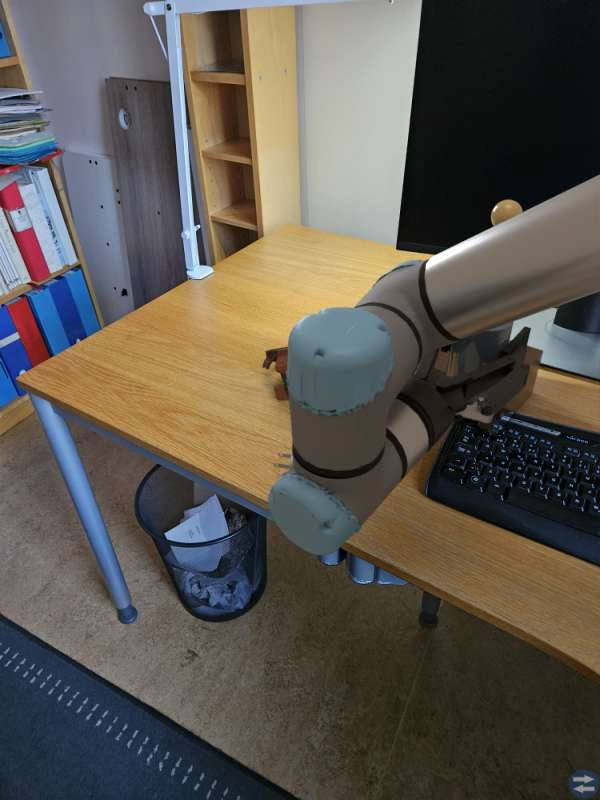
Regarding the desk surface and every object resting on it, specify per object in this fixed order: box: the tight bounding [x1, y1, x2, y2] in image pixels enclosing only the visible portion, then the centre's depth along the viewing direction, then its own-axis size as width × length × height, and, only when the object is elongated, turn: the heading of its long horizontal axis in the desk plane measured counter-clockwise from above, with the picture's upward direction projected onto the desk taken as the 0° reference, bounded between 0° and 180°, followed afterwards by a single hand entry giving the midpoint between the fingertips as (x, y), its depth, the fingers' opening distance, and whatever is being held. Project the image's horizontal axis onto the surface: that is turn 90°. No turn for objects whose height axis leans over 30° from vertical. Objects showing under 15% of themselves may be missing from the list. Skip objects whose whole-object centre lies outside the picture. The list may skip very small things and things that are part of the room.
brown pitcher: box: [261, 346, 289, 400], centre depth 93 cm, size 12×10×8 cm
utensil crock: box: [446, 199, 524, 405], centre depth 62 cm, size 6×6×22 cm
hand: (496, 328), depth 68 cm, fingers closed on utensil crock, 6 cm apart
